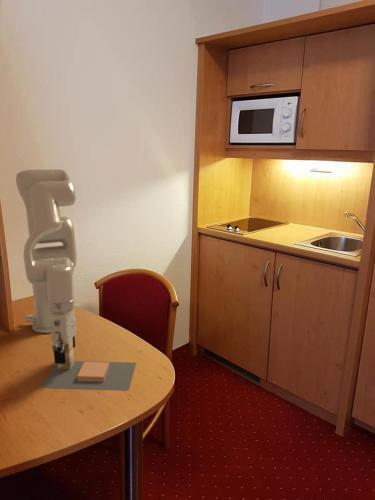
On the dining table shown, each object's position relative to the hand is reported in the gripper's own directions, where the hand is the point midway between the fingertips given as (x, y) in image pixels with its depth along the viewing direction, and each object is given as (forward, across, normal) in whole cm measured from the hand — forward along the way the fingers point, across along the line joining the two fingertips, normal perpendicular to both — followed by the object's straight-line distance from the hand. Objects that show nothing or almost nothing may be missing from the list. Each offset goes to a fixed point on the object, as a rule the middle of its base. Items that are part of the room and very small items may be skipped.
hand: (65, 354), depth 126 cm
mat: (+4, -4, -9) cm, 11 cm away
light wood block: (+4, 0, 0) cm, 4 cm away
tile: (+3, -4, -6) cm, 8 cm away
